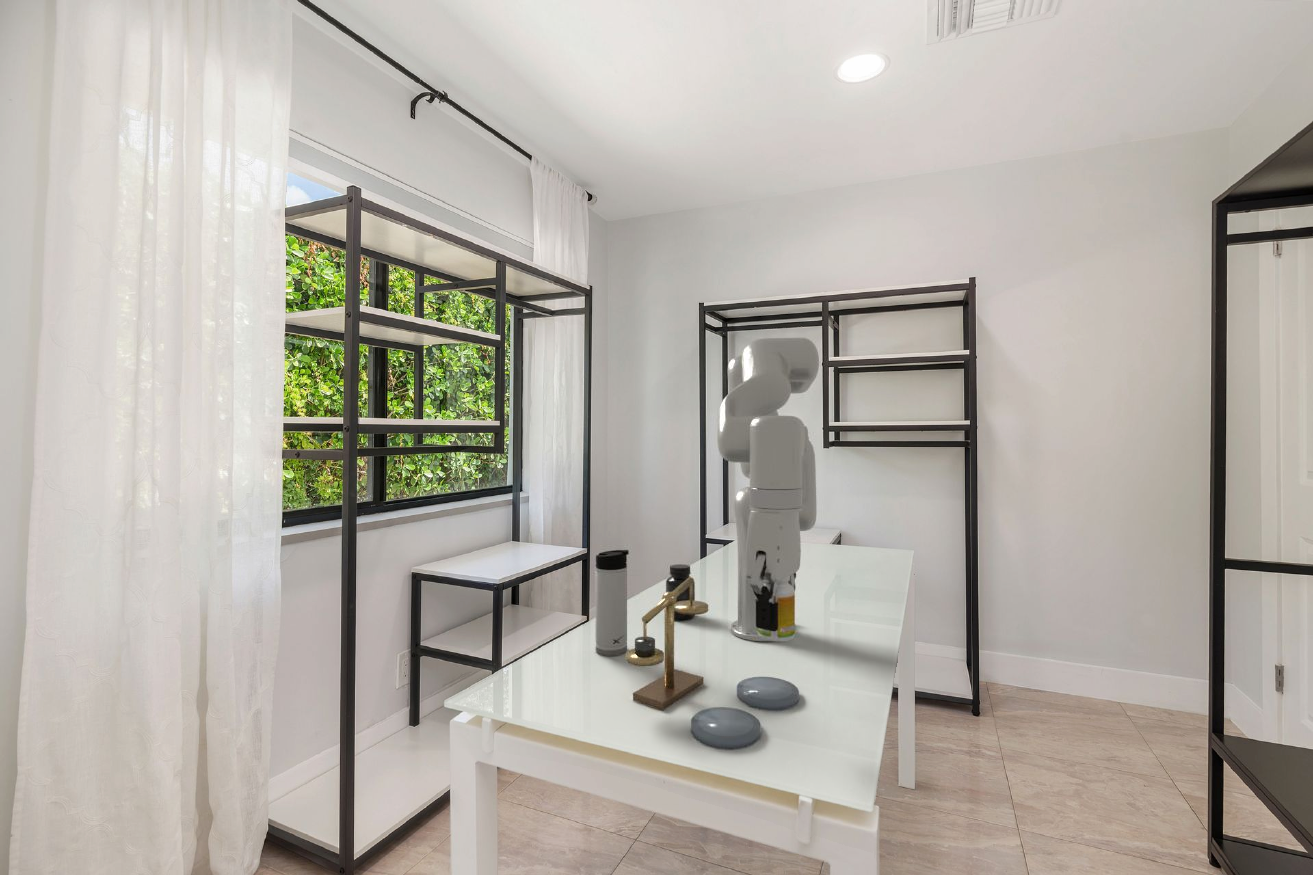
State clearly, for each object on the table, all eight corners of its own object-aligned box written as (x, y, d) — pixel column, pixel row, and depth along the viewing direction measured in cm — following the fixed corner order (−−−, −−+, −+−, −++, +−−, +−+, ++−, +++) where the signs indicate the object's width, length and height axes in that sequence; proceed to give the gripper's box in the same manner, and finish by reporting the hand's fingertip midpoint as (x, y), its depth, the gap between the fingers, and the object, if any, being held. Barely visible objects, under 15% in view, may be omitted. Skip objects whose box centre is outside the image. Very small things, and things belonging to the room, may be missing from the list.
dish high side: (753, 678, 104) (753, 671, 104) (808, 693, 98) (808, 685, 98) (725, 699, 96) (725, 691, 96) (783, 716, 90) (783, 708, 90)
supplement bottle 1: (700, 615, 141) (700, 565, 141) (685, 623, 135) (685, 570, 135) (675, 611, 144) (675, 561, 144) (660, 618, 139) (660, 567, 138)
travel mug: (624, 657, 114) (624, 553, 114) (591, 655, 115) (591, 552, 115) (632, 646, 120) (632, 547, 120) (600, 643, 122) (600, 546, 122)
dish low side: (713, 708, 93) (713, 700, 93) (772, 727, 87) (772, 718, 87) (677, 734, 85) (677, 726, 85) (740, 757, 79) (740, 747, 79)
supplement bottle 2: (796, 631, 89) (796, 567, 89) (793, 644, 84) (793, 575, 84) (760, 628, 90) (760, 564, 90) (754, 640, 85) (754, 572, 85)
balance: (686, 668, 109) (686, 571, 108) (714, 676, 105) (714, 575, 105) (618, 708, 93) (617, 594, 93) (648, 719, 89) (648, 600, 89)
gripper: (775, 493, 96) (775, 605, 96) (725, 504, 82) (725, 634, 82) (820, 496, 92) (820, 613, 92) (776, 508, 78) (776, 646, 78)
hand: (775, 622), depth 87 cm, fingers closed on supplement bottle 2, 5 cm apart
